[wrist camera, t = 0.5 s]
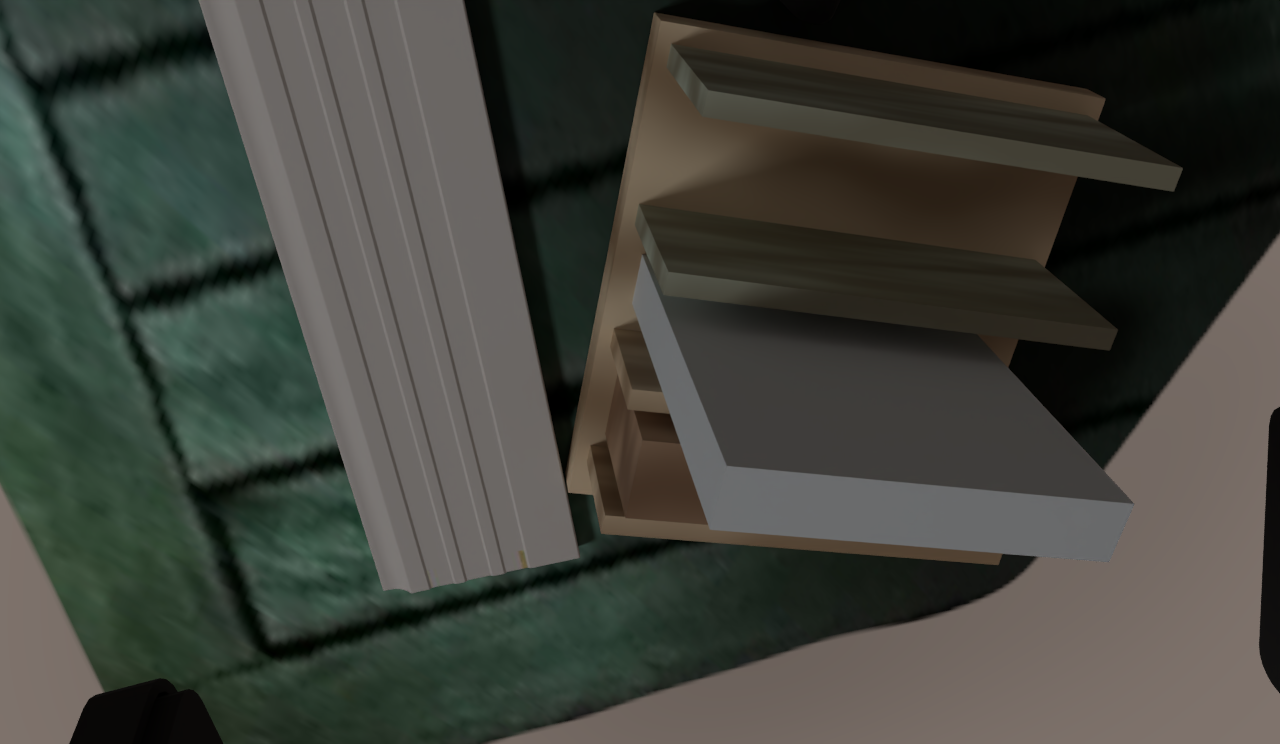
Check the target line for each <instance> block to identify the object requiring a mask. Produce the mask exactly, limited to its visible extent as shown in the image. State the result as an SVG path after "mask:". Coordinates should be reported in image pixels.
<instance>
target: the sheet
mask: <svg viewBox="0 0 1280 744" xmlns="http://www.w3.org/2000/svg"><path fill="white" fill-rule="evenodd" d="M632 305H633V308H634V311H635V313H636V316H637V319H638V322H639V325H640V328H641V331H642V334H643V337H644V340H645V343H646V345H647V348H648V351H649V354H650V357H651V360H652V363H653V366H654V369H655V372H656V374H657V377H658V380H659V383H660V386H661V389H662V392H663V395H664V398H665V401H666V403H667V406H668V409H669V412H670V415H671V418H672V421H673V424H674V427H675V430H676V433H677V435H678V438H679V441H680V444H681V447H682V450H683V453H684V456H685V459H686V462H687V464H688V467H689V470H690V473H691V476H692V479H693V482H694V485H695V488H696V491H697V494H698V496H699V499H700V502H701V505H702V508H703V511H704V514H705V517H706V520H707V523H708V525H709V528H710V530H719V531H732V532H744V533H756V534H769V535H781V536H793V537H805V538H818V539H830V540H842V541H855V542H867V543H879V544H892V545H904V546H916V547H929V548H941V549H953V550H965V551H978V552H990V553H1002V554H1015V555H1027V556H1039V557H1052V558H1064V559H1076V560H1089V561H1101V562H1109V561H1110V559H1111V556H1112V554H1113V552H1114V549H1115V547H1116V545H1117V542H1118V540H1119V538H1120V535H1121V533H1122V531H1123V529H1124V527H1125V524H1126V522H1127V520H1128V517H1129V515H1130V513H1131V511H1132V508H1133V506H1134V503H1133V502H1132V501H1131V500H1130V499H1129V498H1128V497H1127V495H1126V494H1125V493H1124V492H1123V491H1122V490H1121V489H1120V488H1119V487H1118V486H1117V485H1116V484H1115V483H1114V481H1112V479H1111V478H1110V477H1109V476H1108V475H1107V474H1106V473H1105V472H1104V471H1103V470H1102V469H1101V467H1100V466H1099V465H1098V464H1097V463H1096V462H1095V461H1094V460H1093V459H1092V458H1091V457H1090V456H1089V455H1088V453H1087V452H1086V451H1085V450H1084V449H1083V448H1082V447H1081V446H1080V445H1079V444H1078V443H1077V442H1076V440H1075V439H1074V438H1073V437H1072V436H1071V435H1070V434H1069V433H1068V432H1067V431H1066V430H1065V429H1064V428H1063V426H1062V425H1061V424H1060V423H1059V422H1058V421H1057V420H1056V419H1055V418H1054V417H1053V416H1052V415H1051V414H1050V412H1049V411H1048V410H1047V409H1046V408H1045V407H1044V406H1043V405H1042V404H1041V403H1040V402H1039V401H1038V400H1037V398H1036V397H1035V396H1034V395H1033V394H1032V393H1031V392H1030V391H1029V390H1028V389H1027V388H1026V387H1025V385H1024V384H1023V383H1022V382H1021V381H1020V380H1019V379H1018V378H1017V377H1016V376H1015V375H1014V374H1013V373H1012V371H1011V370H1010V369H1009V368H1008V367H1007V366H1006V365H1005V364H1004V363H1003V362H1002V361H1001V360H1000V359H999V357H998V356H997V355H996V354H995V353H994V352H993V351H992V350H991V349H990V348H989V347H988V346H987V345H986V343H985V342H984V341H983V340H982V339H981V338H980V337H979V336H978V335H977V334H972V333H964V332H956V331H948V330H940V329H932V328H924V327H916V326H908V325H900V324H892V323H884V322H876V321H868V320H860V319H852V318H844V317H836V316H828V315H820V314H812V313H804V312H796V311H788V310H780V309H771V308H763V307H755V306H747V305H739V304H731V303H723V302H715V301H707V300H699V299H691V298H683V297H675V296H667V295H663V293H662V290H661V288H660V286H659V283H658V281H657V278H656V276H655V273H654V271H653V268H652V266H651V263H650V261H649V259H648V256H647V255H644V254H642V257H641V262H640V267H639V272H638V277H637V282H636V286H635V291H634V296H633V301H632Z"/></svg>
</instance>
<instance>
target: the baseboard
mask: <svg viewBox="0 0 1280 744" xmlns="http://www.w3.org/2000/svg"><path fill="white" fill-rule="evenodd" d="M199 2H200V6H201V9H202V12H203V15H204V18H205V22H206V25H207V28H208V31H209V34H210V38H211V41H212V44H213V47H214V50H215V54H216V57H217V60H218V63H219V66H220V70H221V73H222V76H223V79H224V82H225V85H226V89H227V92H228V95H229V98H230V101H231V105H232V108H233V111H234V114H235V117H236V121H237V124H238V127H239V130H240V133H241V137H242V140H243V143H244V146H245V149H246V153H247V156H248V159H249V162H250V165H251V169H252V172H253V175H254V178H255V181H256V185H257V188H258V191H259V194H260V197H261V201H262V204H263V207H264V210H265V213H266V217H267V220H268V223H269V226H270V229H271V232H272V236H273V239H274V242H275V245H276V248H277V252H278V255H279V258H280V261H281V264H282V268H283V271H284V274H285V277H286V280H287V284H288V287H289V290H290V293H291V296H292V300H293V303H294V306H295V309H296V312H297V316H298V319H299V322H300V325H301V328H302V332H303V335H304V338H305V341H306V344H307V348H308V351H309V354H310V357H311V360H312V363H313V367H314V370H315V373H316V376H317V379H318V383H319V386H320V389H321V392H322V395H323V399H324V402H325V405H326V408H327V411H328V415H329V418H330V421H331V424H332V427H333V431H334V434H335V437H336V440H337V443H338V447H339V450H340V453H341V456H342V459H343V463H344V466H345V469H346V472H347V475H348V479H349V482H350V485H351V488H352V491H353V495H354V498H355V501H356V504H357V507H358V510H359V514H360V517H361V520H362V523H363V526H364V530H365V533H366V536H367V539H368V542H369V546H370V549H371V552H372V555H373V558H374V562H375V565H376V568H377V571H378V574H379V578H380V581H381V584H382V587H383V590H384V591H385V590H390V589H403V590H406V591H408V592H410V593H415V592H419V591H424V590H429V589H431V588H432V587H437V586H442V585H447V584H451V583H455V584H457V583H462V582H466V581H467V580H470V579H475V578H480V577H485V576H489V575H491V576H495V575H500V574H504V573H506V572H508V571H513V570H518V569H523V568H527V567H528V568H533V567H538V566H543V565H548V564H552V563H557V562H562V561H566V560H571V559H576V558H579V557H580V553H579V548H578V543H577V538H576V533H575V529H574V524H573V519H572V514H571V509H570V505H569V500H568V495H567V490H566V485H565V481H564V476H563V471H562V466H561V461H560V457H559V452H558V447H557V442H556V437H555V433H554V428H553V423H552V418H551V414H550V409H549V404H548V399H547V394H546V390H545V385H544V380H543V375H542V370H541V366H540V361H539V356H538V351H537V346H536V342H535V337H534V332H533V327H532V322H531V318H530V313H529V308H528V303H527V299H526V294H525V289H524V284H523V279H522V275H521V270H520V265H519V260H518V255H517V251H516V246H515V241H514V236H513V231H512V227H511V222H510V217H509V212H508V207H507V203H506V198H505V193H504V188H503V184H502V179H501V174H500V169H499V164H498V160H497V155H496V150H495V145H494V140H493V136H492V131H491V126H490V121H489V116H488V112H487V107H486V102H485V97H484V92H483V88H482V83H481V78H480V73H479V69H478V64H477V59H476V54H475V49H474V45H473V40H472V35H471V30H470V25H469V21H468V16H467V11H466V6H465V1H464V0H199Z"/></svg>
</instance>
